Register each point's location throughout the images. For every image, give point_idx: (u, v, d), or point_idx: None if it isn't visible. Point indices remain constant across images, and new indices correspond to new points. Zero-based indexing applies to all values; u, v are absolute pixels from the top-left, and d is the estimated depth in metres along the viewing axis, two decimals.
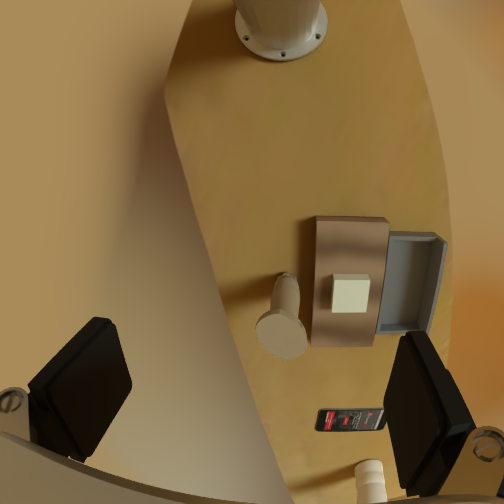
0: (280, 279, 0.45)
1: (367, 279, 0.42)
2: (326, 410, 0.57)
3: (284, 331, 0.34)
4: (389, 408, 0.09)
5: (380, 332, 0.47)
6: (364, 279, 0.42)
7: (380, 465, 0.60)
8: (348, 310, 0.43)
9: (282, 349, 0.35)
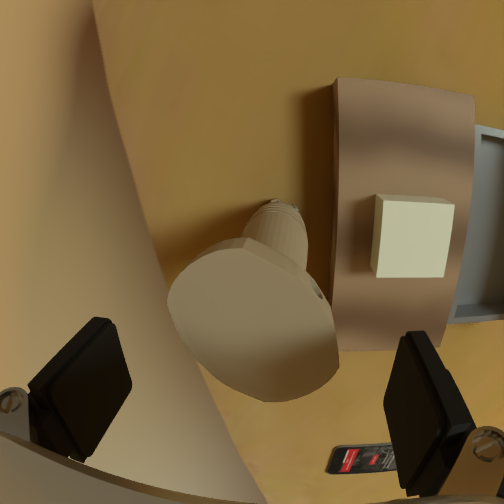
0: (264, 205, 0.21)
1: (448, 203, 0.17)
2: (345, 448, 0.33)
3: (263, 316, 0.10)
4: (389, 408, 0.09)
5: (454, 320, 0.23)
6: (442, 203, 0.17)
7: None
8: (409, 273, 0.19)
9: (259, 372, 0.11)
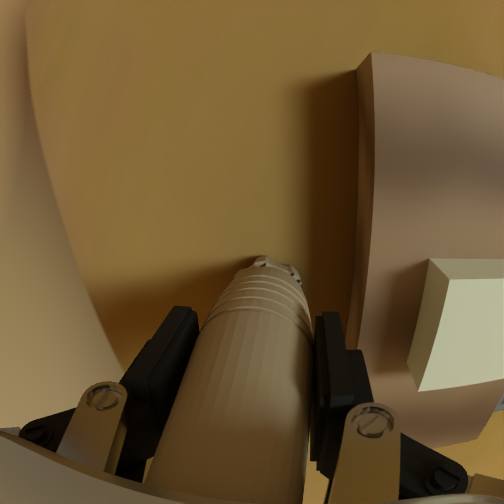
0: (240, 279, 0.12)
1: None
2: None
3: None
4: None
5: (500, 407, 0.14)
6: None
7: None
8: (466, 380, 0.10)
9: None
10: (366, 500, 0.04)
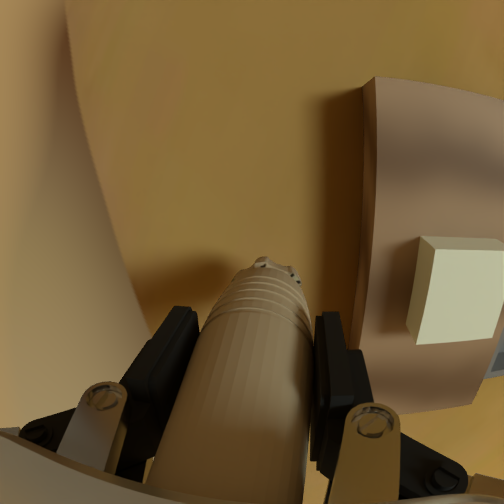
0: (240, 280, 0.12)
1: None
2: None
3: None
4: None
5: (490, 374, 0.17)
6: (503, 250, 0.12)
7: None
8: (455, 337, 0.14)
9: None
10: (366, 500, 0.04)
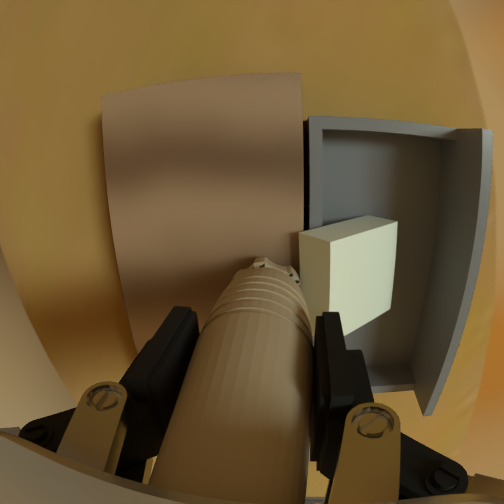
0: (239, 280, 0.12)
1: (390, 222, 0.15)
2: None
3: None
4: None
5: None
6: (387, 224, 0.15)
7: None
8: (360, 322, 0.15)
9: None
10: (366, 500, 0.04)
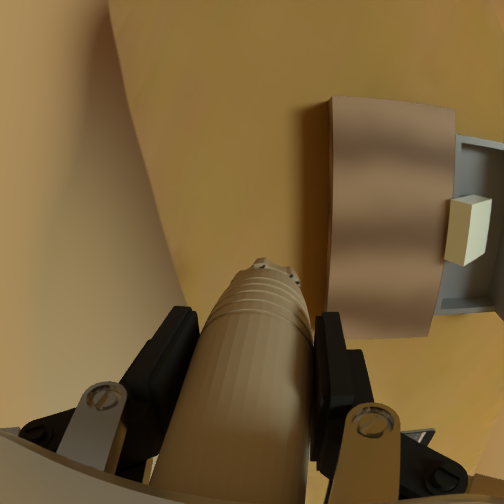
0: (239, 281, 0.12)
1: (488, 198, 0.22)
2: None
3: None
4: None
5: (441, 311, 0.26)
6: (488, 199, 0.22)
7: None
8: (474, 256, 0.22)
9: None
10: (367, 500, 0.04)
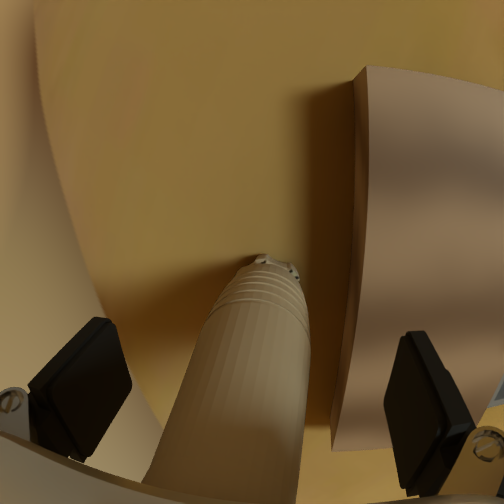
0: (241, 275, 0.13)
1: None
2: None
3: None
4: (389, 408, 0.09)
5: (494, 403, 0.15)
6: None
7: None
8: None
9: None
10: None
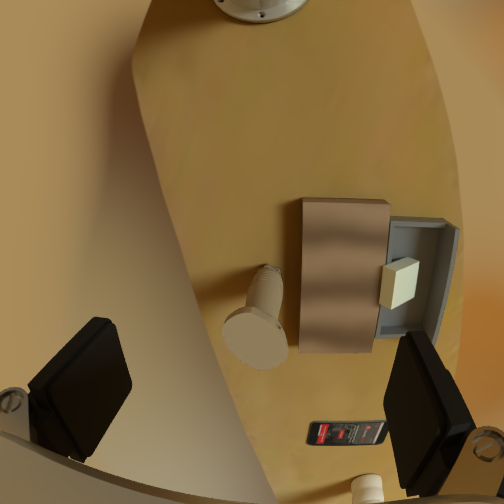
0: (260, 272, 0.38)
1: (416, 261, 0.36)
2: (319, 423, 0.50)
3: (258, 335, 0.27)
4: (389, 408, 0.09)
5: (380, 336, 0.40)
6: (415, 262, 0.36)
7: (379, 480, 0.53)
8: (402, 301, 0.37)
9: (256, 357, 0.28)
10: None
